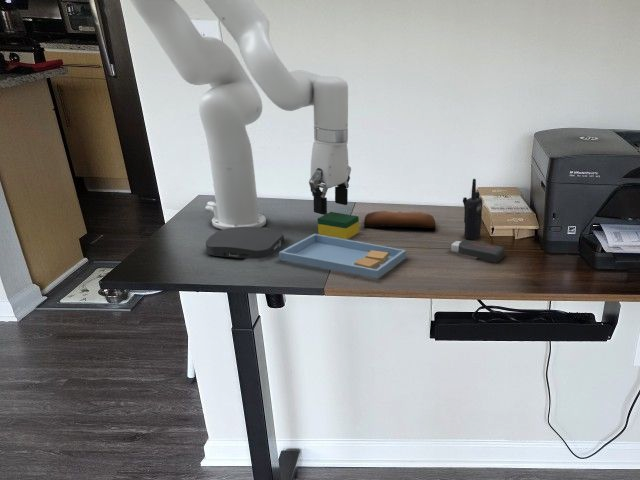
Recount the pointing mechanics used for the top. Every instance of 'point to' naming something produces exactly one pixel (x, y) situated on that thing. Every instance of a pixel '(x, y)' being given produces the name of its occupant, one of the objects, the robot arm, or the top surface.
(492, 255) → the usb drive
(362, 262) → the crumb
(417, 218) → the sunglasses case
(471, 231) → the two-way radio
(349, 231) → the sponge
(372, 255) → the crumb
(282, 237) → the media streaming box
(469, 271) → the top surface
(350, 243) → the tray
